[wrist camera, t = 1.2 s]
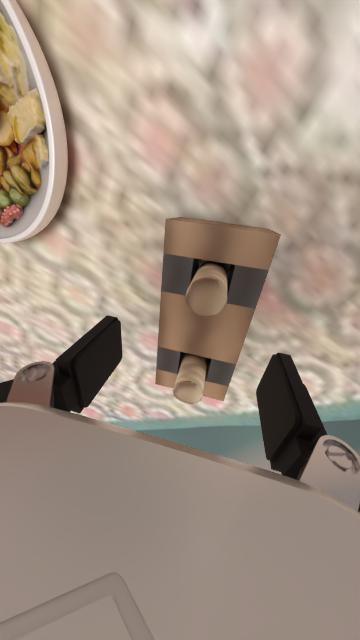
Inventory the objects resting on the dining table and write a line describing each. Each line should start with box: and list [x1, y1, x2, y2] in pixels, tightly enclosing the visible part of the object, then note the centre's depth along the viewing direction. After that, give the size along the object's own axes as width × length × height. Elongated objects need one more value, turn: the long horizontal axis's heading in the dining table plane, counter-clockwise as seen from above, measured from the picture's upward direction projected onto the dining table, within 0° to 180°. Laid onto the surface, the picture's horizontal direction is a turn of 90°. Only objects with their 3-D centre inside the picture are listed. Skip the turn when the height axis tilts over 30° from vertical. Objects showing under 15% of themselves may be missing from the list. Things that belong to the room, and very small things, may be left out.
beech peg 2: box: [173, 353, 208, 404], centre depth 29 cm, size 4×4×8 cm
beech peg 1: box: [186, 260, 227, 316], centre depth 22 cm, size 4×4×8 cm
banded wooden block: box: [156, 217, 281, 401], centre depth 30 cm, size 12×26×8 cm, turn 174°
